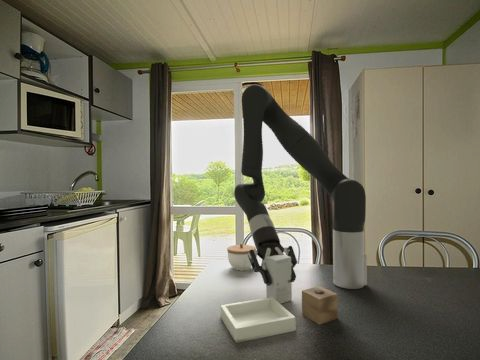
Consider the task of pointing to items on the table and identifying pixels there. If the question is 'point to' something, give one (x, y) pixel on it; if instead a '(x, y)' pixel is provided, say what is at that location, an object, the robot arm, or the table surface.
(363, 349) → the table surface
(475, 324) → the table surface
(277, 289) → the skincare box
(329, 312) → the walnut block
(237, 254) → the lidded jar
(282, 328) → the tray
